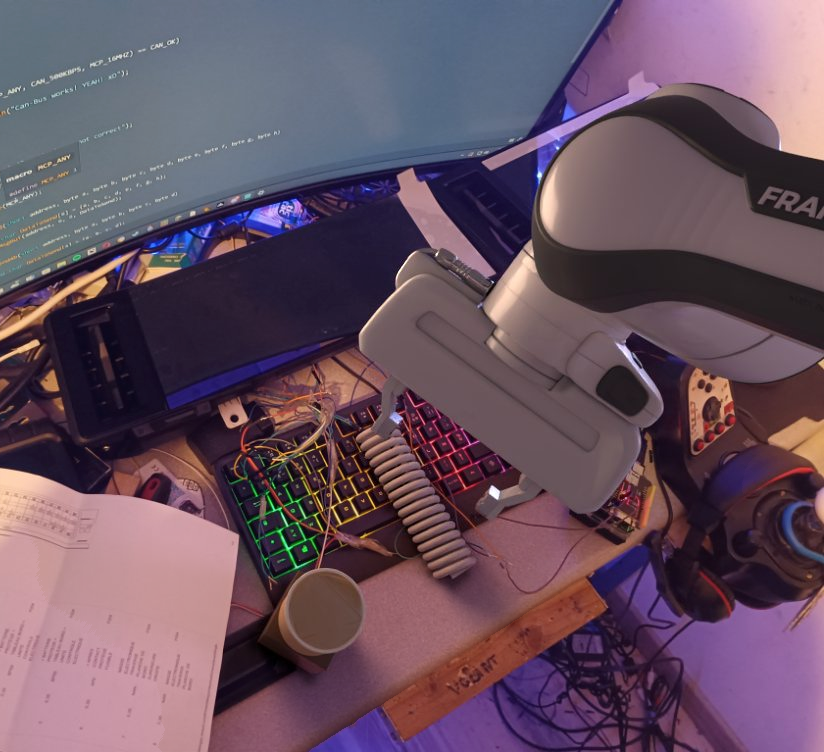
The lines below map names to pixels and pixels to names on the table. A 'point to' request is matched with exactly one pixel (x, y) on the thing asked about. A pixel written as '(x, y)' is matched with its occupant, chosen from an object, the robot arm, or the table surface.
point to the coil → (418, 504)
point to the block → (278, 645)
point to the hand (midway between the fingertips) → (430, 472)
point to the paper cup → (322, 613)
